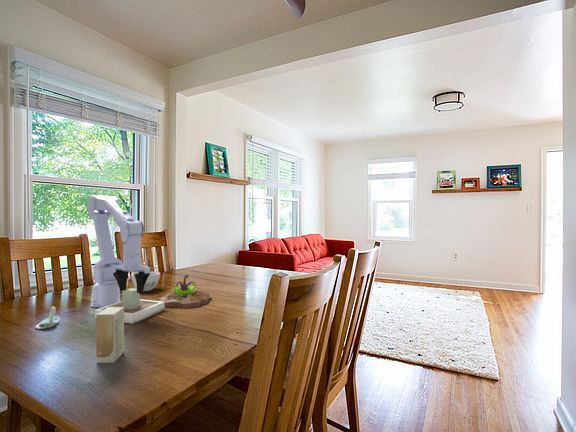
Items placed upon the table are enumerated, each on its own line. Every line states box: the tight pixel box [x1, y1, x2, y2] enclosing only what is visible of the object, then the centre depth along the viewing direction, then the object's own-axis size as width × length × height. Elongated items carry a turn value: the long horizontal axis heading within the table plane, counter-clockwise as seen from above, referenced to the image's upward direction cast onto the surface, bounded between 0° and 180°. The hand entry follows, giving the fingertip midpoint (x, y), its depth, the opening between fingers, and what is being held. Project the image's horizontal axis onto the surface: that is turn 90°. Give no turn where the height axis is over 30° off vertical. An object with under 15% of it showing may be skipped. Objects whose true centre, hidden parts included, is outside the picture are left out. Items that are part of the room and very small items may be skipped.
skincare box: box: [95, 307, 125, 364], centre depth 81 cm, size 6×4×12 cm
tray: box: [94, 298, 165, 324], centre depth 116 cm, size 16×16×3 cm
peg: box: [121, 287, 141, 310], centre depth 116 cm, size 4×4×8 cm
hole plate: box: [113, 302, 156, 313], centre depth 116 cm, size 14×14×2 cm
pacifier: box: [35, 306, 61, 330], centre depth 103 cm, size 7×6×6 cm
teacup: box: [130, 271, 161, 292], centre depth 153 cm, size 15×12×8 cm
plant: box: [157, 274, 211, 309], centre depth 134 cm, size 20×20×11 cm
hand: (131, 291), depth 116 cm, fingers open, 7 cm apart
